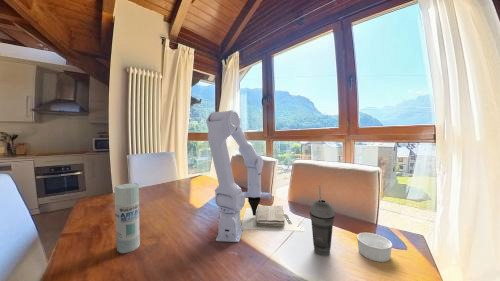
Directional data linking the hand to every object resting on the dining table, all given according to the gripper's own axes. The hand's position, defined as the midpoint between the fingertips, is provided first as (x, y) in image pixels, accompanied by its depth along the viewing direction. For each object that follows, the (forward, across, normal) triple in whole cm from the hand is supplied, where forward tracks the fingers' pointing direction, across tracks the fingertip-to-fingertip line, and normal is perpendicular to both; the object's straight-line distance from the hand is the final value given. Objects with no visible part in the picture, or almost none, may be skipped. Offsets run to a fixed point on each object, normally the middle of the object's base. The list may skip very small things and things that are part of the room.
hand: (254, 214), depth 83 cm
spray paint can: (+2, +39, +25) cm, 46 cm away
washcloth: (+2, -7, 0) cm, 7 cm away
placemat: (+1, -7, 0) cm, 7 cm away
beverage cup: (+2, -22, +22) cm, 31 cm away
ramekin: (+2, -37, +22) cm, 43 cm away
